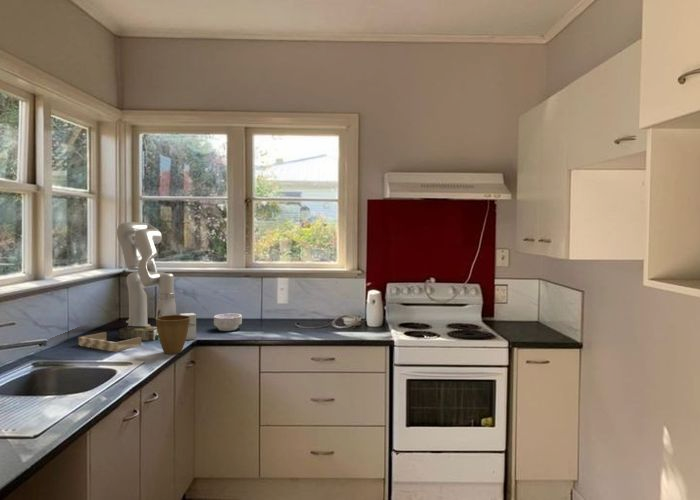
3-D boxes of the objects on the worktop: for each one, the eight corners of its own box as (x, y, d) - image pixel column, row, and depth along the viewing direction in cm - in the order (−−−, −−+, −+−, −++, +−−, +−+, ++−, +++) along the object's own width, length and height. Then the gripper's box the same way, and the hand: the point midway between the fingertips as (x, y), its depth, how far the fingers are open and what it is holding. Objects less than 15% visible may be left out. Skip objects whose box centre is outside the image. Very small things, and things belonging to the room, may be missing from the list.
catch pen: (78, 345, 243) (78, 337, 243) (105, 339, 256) (104, 332, 256) (115, 351, 231) (115, 343, 231) (141, 345, 243) (141, 337, 243)
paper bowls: (228, 333, 273) (228, 318, 272) (207, 330, 280) (207, 316, 280) (247, 328, 286) (247, 314, 286) (227, 326, 293) (227, 312, 293)
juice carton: (165, 337, 264) (164, 325, 264) (156, 341, 254) (155, 329, 254) (128, 336, 266) (127, 325, 266) (118, 341, 256) (117, 328, 256)
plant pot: (165, 358, 220) (165, 321, 219) (149, 352, 230) (149, 317, 229) (196, 352, 230) (196, 317, 230) (180, 347, 241) (180, 313, 240)
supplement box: (181, 340, 254) (181, 315, 254) (179, 337, 261) (178, 313, 260) (196, 339, 258) (196, 314, 257) (193, 336, 264) (193, 312, 264)
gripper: (172, 294, 282) (172, 327, 282) (150, 297, 268) (150, 332, 269) (182, 295, 278) (182, 328, 279) (160, 298, 265) (161, 333, 266)
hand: (167, 330), depth 274 cm, fingers closed
